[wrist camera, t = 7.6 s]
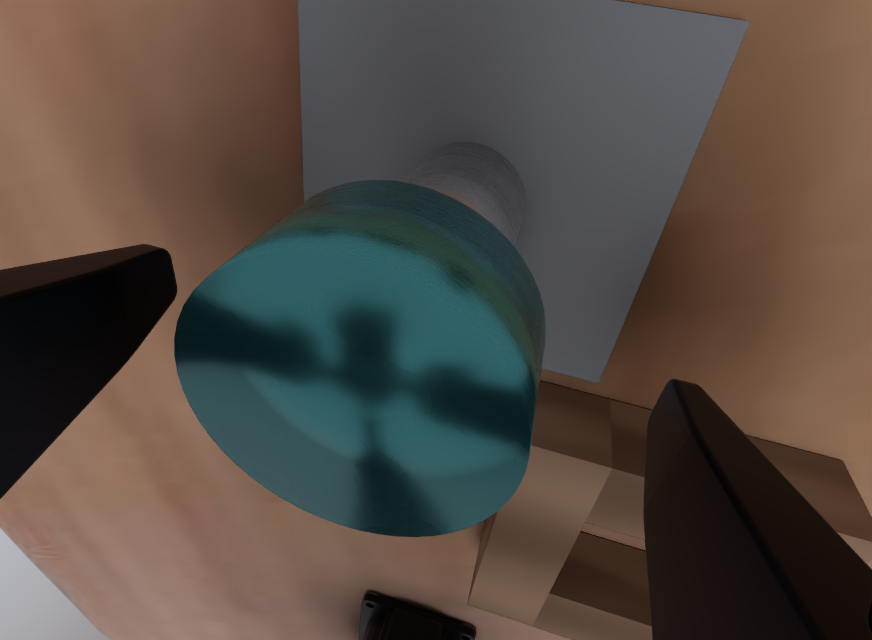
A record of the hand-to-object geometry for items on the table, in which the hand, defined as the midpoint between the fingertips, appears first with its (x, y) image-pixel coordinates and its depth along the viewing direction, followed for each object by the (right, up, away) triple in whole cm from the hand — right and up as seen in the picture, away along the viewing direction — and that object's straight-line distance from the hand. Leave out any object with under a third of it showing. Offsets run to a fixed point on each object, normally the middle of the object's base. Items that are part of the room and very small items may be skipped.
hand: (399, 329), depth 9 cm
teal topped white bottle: (+1, +3, +5) cm, 6 cm away
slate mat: (+2, +4, +5) cm, 7 cm away
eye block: (+8, -7, +11) cm, 15 cm away
